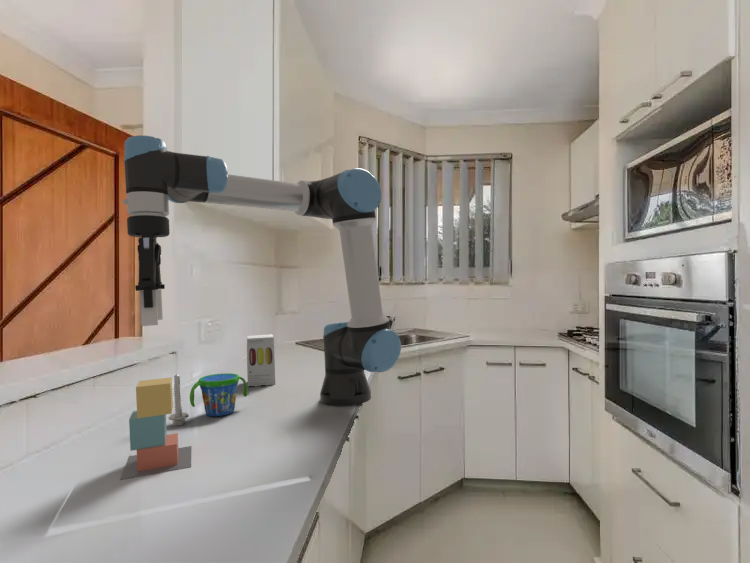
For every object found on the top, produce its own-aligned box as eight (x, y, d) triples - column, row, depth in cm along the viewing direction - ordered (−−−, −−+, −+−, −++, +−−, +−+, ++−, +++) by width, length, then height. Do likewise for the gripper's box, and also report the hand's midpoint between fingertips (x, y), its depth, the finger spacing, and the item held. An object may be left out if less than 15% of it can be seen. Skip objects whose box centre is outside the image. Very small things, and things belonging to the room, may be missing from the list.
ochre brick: (172, 405, 94) (171, 377, 94) (171, 413, 88) (170, 383, 88) (140, 410, 92) (139, 380, 92) (137, 418, 86) (135, 387, 86)
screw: (170, 422, 118) (190, 420, 119) (167, 428, 113) (188, 425, 115) (167, 373, 118) (187, 371, 119) (165, 377, 113) (185, 375, 114)
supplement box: (247, 387, 154) (245, 338, 153) (247, 381, 162) (246, 335, 162) (276, 384, 156) (274, 336, 156) (274, 379, 165) (273, 333, 165)
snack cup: (242, 404, 133) (241, 369, 133) (254, 412, 124) (252, 375, 124) (186, 414, 124) (185, 378, 124) (194, 424, 116) (193, 384, 116)
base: (191, 449, 98) (190, 427, 98) (191, 470, 87) (190, 446, 87) (129, 459, 94) (128, 437, 93) (120, 483, 82) (119, 457, 82)
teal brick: (166, 435, 93) (165, 406, 93) (165, 445, 88) (163, 414, 88) (134, 440, 91) (132, 411, 91) (130, 450, 86) (129, 419, 86)
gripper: (134, 224, 100) (138, 319, 100) (116, 206, 77) (122, 329, 77) (171, 224, 103) (175, 316, 103) (165, 207, 80) (170, 326, 80)
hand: (152, 322), depth 90 cm, fingers open, 13 cm apart
